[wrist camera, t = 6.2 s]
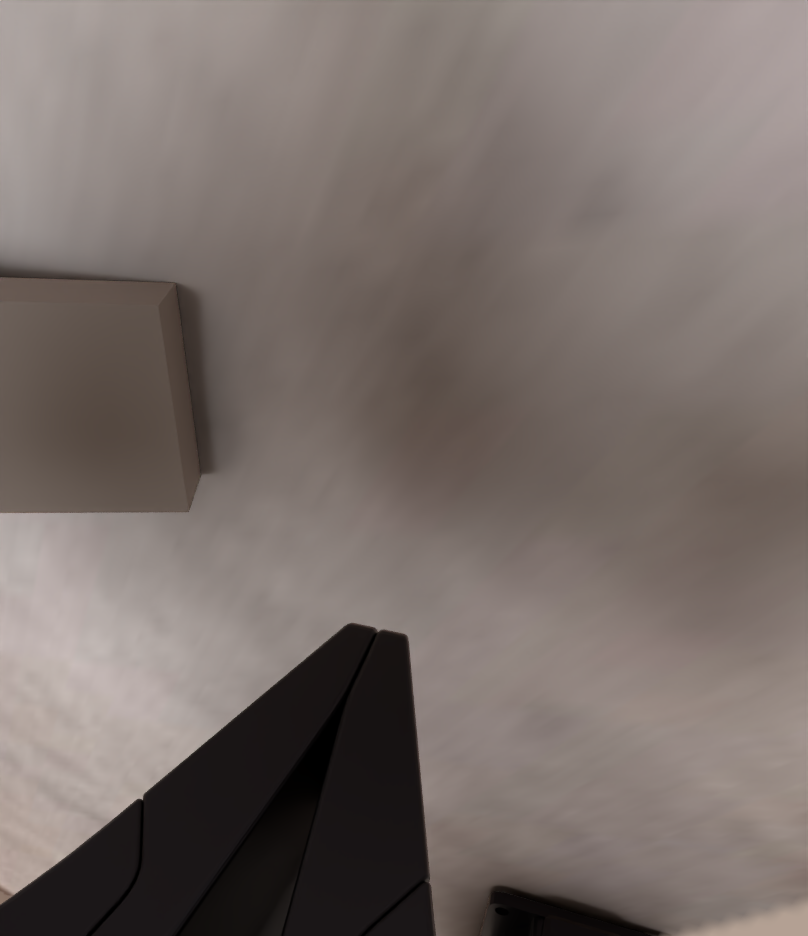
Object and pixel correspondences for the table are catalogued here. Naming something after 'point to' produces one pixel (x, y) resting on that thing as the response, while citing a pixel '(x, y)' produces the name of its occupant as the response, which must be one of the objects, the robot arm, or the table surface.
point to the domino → (94, 398)
